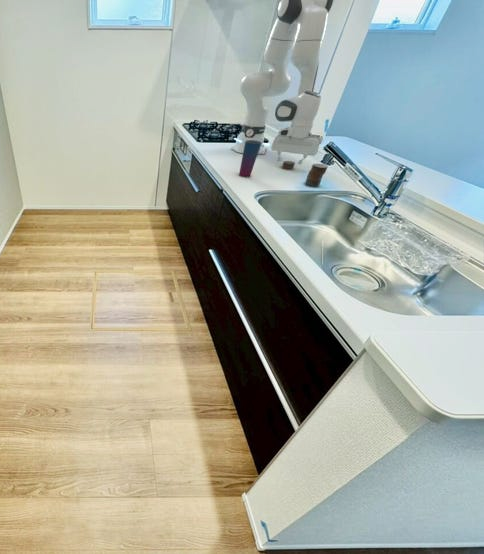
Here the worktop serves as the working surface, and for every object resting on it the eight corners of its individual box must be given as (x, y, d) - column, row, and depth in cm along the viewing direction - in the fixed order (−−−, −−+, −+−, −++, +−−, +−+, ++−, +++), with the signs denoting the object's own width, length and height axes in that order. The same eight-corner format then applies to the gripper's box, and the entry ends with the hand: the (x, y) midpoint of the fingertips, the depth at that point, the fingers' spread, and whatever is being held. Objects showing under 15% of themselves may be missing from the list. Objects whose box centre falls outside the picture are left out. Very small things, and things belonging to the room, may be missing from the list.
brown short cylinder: (283, 165, 154) (284, 160, 152) (294, 167, 151) (296, 161, 150) (280, 168, 150) (282, 162, 149) (291, 170, 148) (294, 164, 146)
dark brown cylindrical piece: (305, 181, 135) (313, 162, 129) (320, 184, 132) (328, 165, 127) (303, 185, 131) (310, 165, 126) (318, 188, 128) (326, 168, 123)
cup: (253, 178, 138) (263, 143, 129) (238, 177, 139) (246, 143, 130) (250, 173, 143) (260, 140, 134) (236, 172, 145) (244, 139, 135)
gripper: (325, 133, 137) (313, 164, 145) (278, 128, 147) (269, 157, 155) (323, 135, 133) (311, 167, 141) (275, 130, 143) (266, 160, 151)
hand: (289, 162), depth 148 cm, fingers open, 8 cm apart
